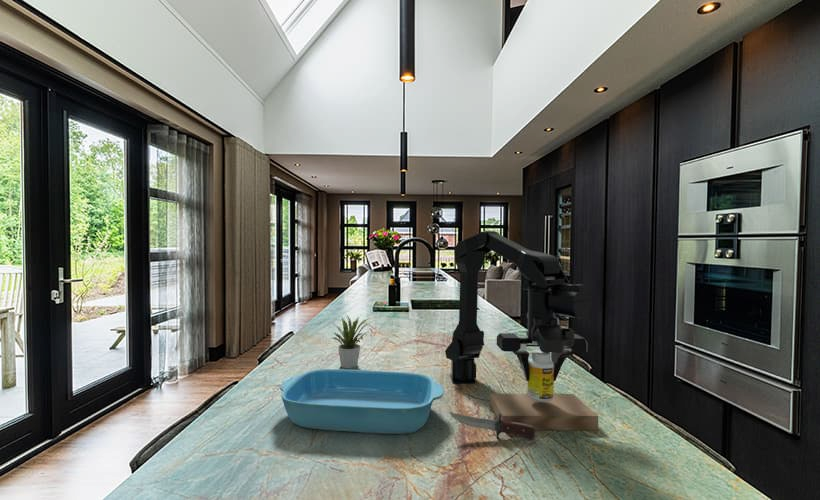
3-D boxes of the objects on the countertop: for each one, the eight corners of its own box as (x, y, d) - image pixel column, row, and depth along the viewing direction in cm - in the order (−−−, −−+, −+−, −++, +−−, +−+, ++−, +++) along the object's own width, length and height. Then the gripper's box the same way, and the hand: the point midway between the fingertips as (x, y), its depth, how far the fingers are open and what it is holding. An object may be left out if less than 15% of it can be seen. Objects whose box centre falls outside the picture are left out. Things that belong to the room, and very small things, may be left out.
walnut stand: (502, 429, 79) (502, 415, 79) (489, 405, 91) (490, 393, 91) (598, 430, 79) (598, 416, 79) (573, 406, 91) (573, 393, 91)
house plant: (384, 364, 123) (384, 313, 123) (356, 376, 111) (356, 320, 111) (350, 357, 131) (351, 309, 130) (321, 367, 119) (321, 315, 119)
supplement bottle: (542, 404, 81) (543, 357, 81) (522, 396, 86) (522, 351, 86) (558, 399, 84) (559, 353, 84) (538, 391, 89) (538, 347, 89)
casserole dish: (443, 399, 96) (443, 370, 96) (443, 445, 73) (444, 408, 73) (300, 393, 99) (300, 366, 99) (260, 436, 76) (260, 400, 76)
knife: (448, 437, 76) (448, 412, 76) (448, 434, 77) (448, 409, 77) (535, 440, 75) (535, 415, 75) (533, 436, 76) (533, 412, 76)
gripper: (509, 317, 77) (508, 394, 77) (601, 318, 77) (600, 395, 77) (496, 308, 88) (495, 375, 88) (576, 309, 88) (575, 376, 88)
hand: (540, 380), depth 85 cm, fingers closed on supplement bottle, 5 cm apart
